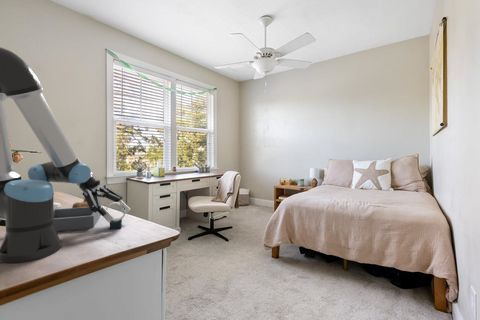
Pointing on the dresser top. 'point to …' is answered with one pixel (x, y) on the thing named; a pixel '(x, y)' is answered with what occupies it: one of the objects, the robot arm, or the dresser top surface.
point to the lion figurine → (81, 204)
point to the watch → (118, 222)
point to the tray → (75, 218)
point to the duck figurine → (56, 205)
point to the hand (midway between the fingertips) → (120, 215)
